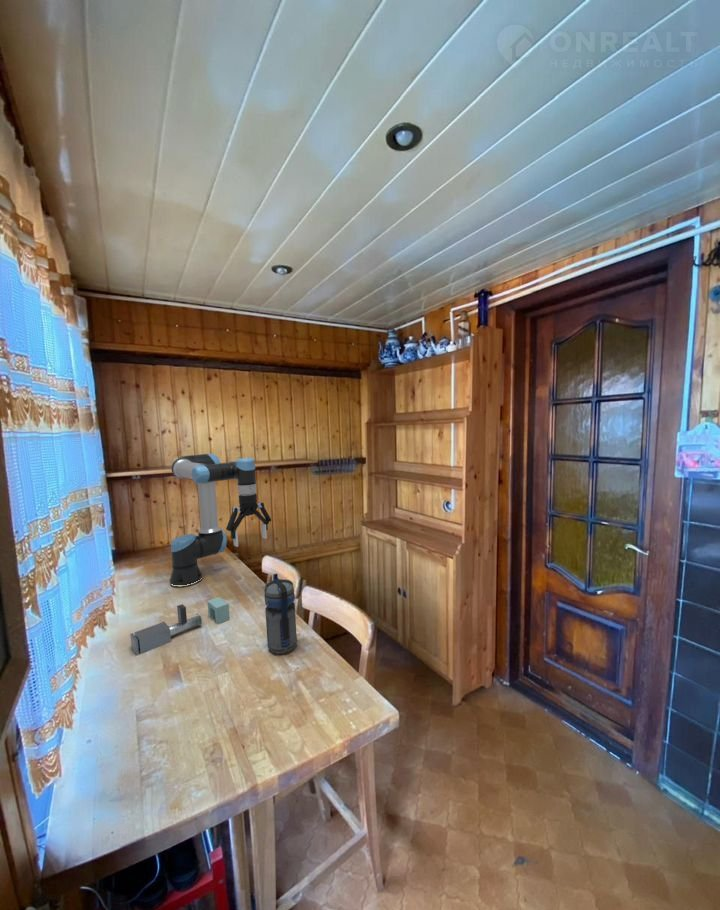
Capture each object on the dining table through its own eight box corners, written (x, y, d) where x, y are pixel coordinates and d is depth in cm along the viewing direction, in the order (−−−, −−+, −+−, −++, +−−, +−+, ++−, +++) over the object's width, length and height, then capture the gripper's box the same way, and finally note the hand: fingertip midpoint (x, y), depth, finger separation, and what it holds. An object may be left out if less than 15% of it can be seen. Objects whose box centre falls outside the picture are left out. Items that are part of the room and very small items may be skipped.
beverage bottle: (273, 663, 123) (268, 589, 121) (264, 643, 134) (260, 575, 133) (302, 654, 127) (299, 582, 125) (292, 635, 139) (288, 569, 137)
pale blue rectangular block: (217, 624, 149) (216, 608, 148) (208, 616, 155) (207, 601, 155) (229, 619, 152) (228, 603, 152) (220, 612, 159) (219, 596, 158)
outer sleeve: (136, 655, 130) (135, 641, 130) (131, 647, 135) (130, 633, 134) (171, 641, 138) (169, 627, 137) (165, 634, 142) (164, 621, 142)
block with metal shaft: (139, 650, 132) (136, 624, 131) (136, 646, 134) (134, 620, 134) (202, 625, 147) (200, 602, 146) (198, 622, 150) (196, 599, 149)
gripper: (223, 499, 150) (227, 551, 152) (277, 490, 168) (279, 536, 169) (215, 497, 156) (219, 547, 157) (268, 488, 173) (271, 533, 175)
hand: (250, 542), depth 163 cm, fingers open, 13 cm apart
